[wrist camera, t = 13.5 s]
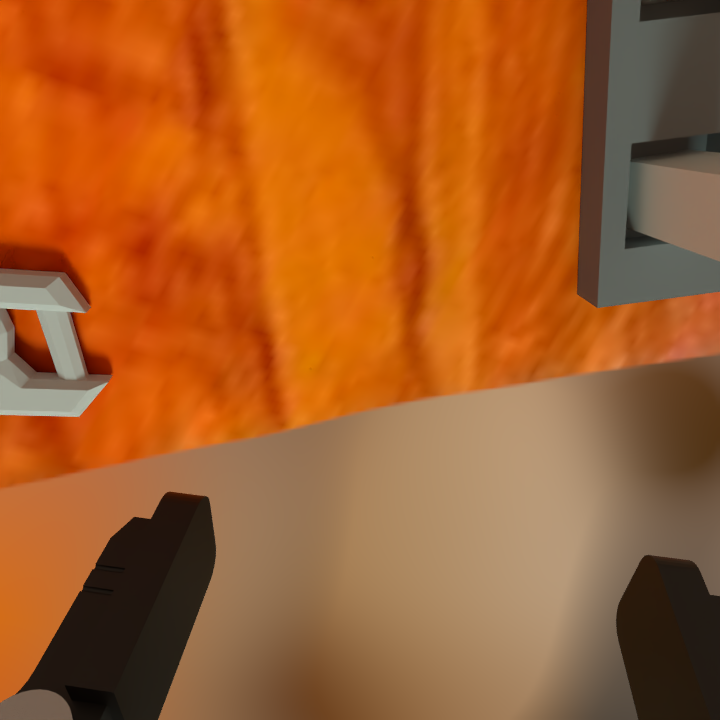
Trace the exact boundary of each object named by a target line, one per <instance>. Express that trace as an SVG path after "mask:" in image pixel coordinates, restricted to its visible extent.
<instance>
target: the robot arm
mask: <svg viewBox="0 0 720 720" xmlns="http://www.w3.org/2000/svg"><path fill="white" fill-rule="evenodd" d="M215 557H216V545H215V536H214V530H213V522H212V515H211V508H210V502H209V498H208V497H206V496H198V495H191V494H183V493H176V492H167V493H166V494H165V495H164V496H163V498H162V499H161V501H160V503H159V505H158V507H157V508H156V510H155V512H154V514H153V516H152V518H151V519H145V518H139V517H134V518H133V519H131V520H130V521H129V522H128V523H127V524H126V525H125V526H124V527H123V528H121V529H120V530H119V531H118V532H117V533H116V534H115V535H114V536H112V537H111V538H110V540H109V542H108V543H107V545H106V547H105V549H104V551H103V552H102V554H101V556H100V557H99V559H98V561H97V563H96V567H95V569H93V570H92V571H91V573H90V575H89V577H88V578H87V580H86V582H85V583H84V585H83V590H82V591H80V592H79V594H78V596H77V597H76V599H75V601H74V603H73V604H72V606H71V608H70V610H69V611H68V613H67V615H66V616H65V618H64V620H63V622H62V623H61V625H60V627H59V629H58V630H57V632H56V634H55V636H54V637H53V639H52V641H51V643H50V644H49V646H48V648H47V650H46V651H45V653H44V655H43V656H42V658H41V660H40V662H39V664H38V665H37V667H36V669H35V670H34V672H33V674H32V675H31V677H30V678H29V680H28V681H27V682H26V683H25V685H24V686H23V687H22V688H21V690H19V691H18V693H16V694H15V695H13V696H11V697H10V698H8V699H6V700H4V701H2V702H1V703H0V720H158V718H159V715H160V713H161V710H162V707H163V704H164V702H165V700H166V697H167V694H168V691H169V689H170V686H171V684H172V681H173V678H174V676H175V673H176V670H177V668H178V665H179V662H180V660H181V657H182V654H183V652H184V649H185V646H186V644H187V641H188V638H189V636H190V633H191V630H192V628H193V625H194V623H195V620H196V617H197V615H198V612H199V609H200V607H201V604H202V601H203V598H204V596H205V593H206V590H207V588H208V585H209V583H210V580H211V577H212V573H213V569H214V564H215ZM616 627H617V636H618V641H619V645H620V648H621V653H622V656H623V660H624V664H625V668H626V672H627V676H628V680H629V684H630V688H631V692H632V696H633V700H634V704H635V708H636V712H637V716H638V720H720V596H714V595H710V594H709V592H708V590H707V587H706V585H705V582H704V580H703V577H702V575H701V573H700V571H699V568H698V567H697V565H696V564H695V563H694V562H692V561H690V560H683V559H675V558H667V557H659V556H652V555H646V556H644V557H643V558H642V560H641V561H640V563H639V565H638V567H637V569H636V571H635V573H634V575H633V577H632V579H631V581H630V583H629V584H628V586H627V588H626V590H625V592H624V594H623V596H622V598H621V600H620V602H619V605H618V609H617V618H616Z"/></svg>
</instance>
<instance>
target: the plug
mask: <svg viewBox="0 0 720 720" xmlns="http://www.w3.org/2000/svg"><path fill="white" fill-rule="evenodd" d="M626 228H629V229H631V230H634V231H637V232H640V233H642V234H645V235H648V236H651V237H653V238H656V239H659V240H662V241H664V242H667V243H670V244H673V245H675V246H678V247H681V248H684V249H686V250H689V251H692V252H695V253H698V254H700V255H703V256H706V257H709V258H711V259H714V260H717V261H720V153H718V152H708V151H698V150H682V151H676V152H670V153H664V154H658V155H652V156H647V157H641V158H635V159H630V174H629V190H628V205H627V220H626Z"/></svg>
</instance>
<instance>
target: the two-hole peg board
mask: <svg viewBox="0 0 720 720" xmlns="http://www.w3.org/2000/svg"><path fill="white" fill-rule="evenodd" d="M682 150H698V151H708V152H718V153H720V0H588V2H587V30H586V59H585V88H584V117H583V146H582V175H581V203H580V232H579V261H578V290H577V294H578V295H579V296H581V297H582V298H584V299H585V300H587V301H588V302H590V303H591V304H593V305H594V306H595V307H597V308H600V307H607V306H615V305H622V304H630V303H638V302H645V301H653V300H660V299H668V298H675V297H683V296H690V295H698V294H705V293H713V292H720V261H717V260H714V259H711V258H709V257H706V256H703V255H700V254H698V253H695V252H692V251H689V250H686V249H684V248H681V247H678V246H675V245H673V244H670V243H667V242H664V241H662V240H659V239H656V238H653V237H651V236H648V235H645V234H642V233H640V232H637V231H634V230H631V229H629V228H626V220H627V205H628V190H629V174H630V159H635V158H641V157H647V156H652V155H658V154H664V153H670V152H676V151H682Z"/></svg>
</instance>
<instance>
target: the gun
mask: <svg viewBox="0 0 720 720" xmlns="http://www.w3.org/2000/svg"><path fill="white" fill-rule="evenodd" d="M90 308H91V307H90V305H89V304H88V303H87V301H86V300H85V299H84V297H83V296H82V295H81V293H80V292H79V290H78V289H77V288H76V286H75V285H74V284H73V282H72V281H71V280H70V278H69V277H68V276H67V274H66V273H65V272H50V271H34V270H18V269H2V268H0V415H34V416H72V417H79V416H80V415H81V414H82V413H83V411H84V410H85V409H86V408H87V407H88V405H89V404H90V403H91V402H92V401H93V400H94V398H95V397H96V396H97V395H98V394H99V392H100V391H101V390H102V389H103V388H104V387H105V385H106V384H107V383H108V382H109V380H110V379H111V377H112V375H100V374H88V371H87V368H86V365H85V361H84V358H83V354H82V351H81V348H80V344H79V341H78V337H77V334H76V330H75V327H74V324H73V320H72V317H71V313H70V312H81V313H86V312H87V311H88V310H89V309H90ZM6 309H24V310H36V311H37V314H38V317H39V320H40V323H41V326H42V329H43V332H44V335H45V338H46V341H47V344H48V347H49V350H50V353H51V356H52V359H53V362H54V365H55V368H56V371H57V373H46V372H36V371H35V370H34V369H33V368H32V367H31V366H29V365H28V364H27V363H26V362H25V361H24V360H23V359H22V358H21V357H19V356H18V355H17V354H16V353H15V334H14V325H13V323H12V321H11V319H10V317H9V315H8V312H7V310H6Z"/></svg>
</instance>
